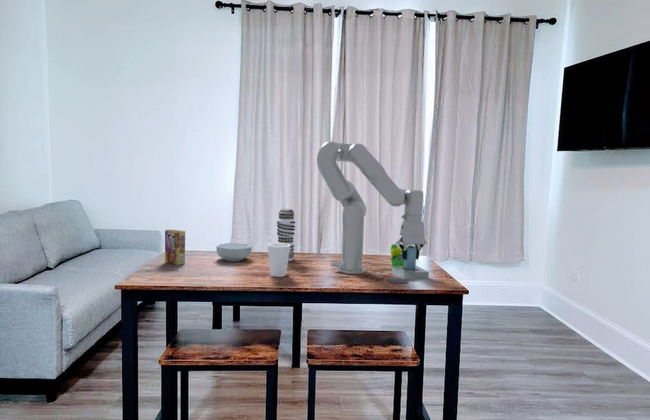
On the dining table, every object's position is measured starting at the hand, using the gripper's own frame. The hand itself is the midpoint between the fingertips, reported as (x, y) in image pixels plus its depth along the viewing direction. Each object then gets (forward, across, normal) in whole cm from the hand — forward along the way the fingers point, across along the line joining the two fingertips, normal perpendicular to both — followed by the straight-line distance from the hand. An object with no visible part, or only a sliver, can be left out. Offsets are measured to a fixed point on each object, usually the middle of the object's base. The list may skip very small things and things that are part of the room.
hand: (410, 258), depth 192 cm
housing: (+8, 0, 0) cm, 8 cm away
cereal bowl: (+9, -73, +42) cm, 84 cm away
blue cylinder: (+4, 0, 0) cm, 4 cm away
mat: (+8, -10, -8) cm, 15 cm away
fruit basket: (+8, +2, +15) cm, 17 cm away
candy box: (+9, -100, +38) cm, 107 cm away
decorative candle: (+9, -48, +40) cm, 63 cm away
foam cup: (+8, -57, +10) cm, 58 cm away
